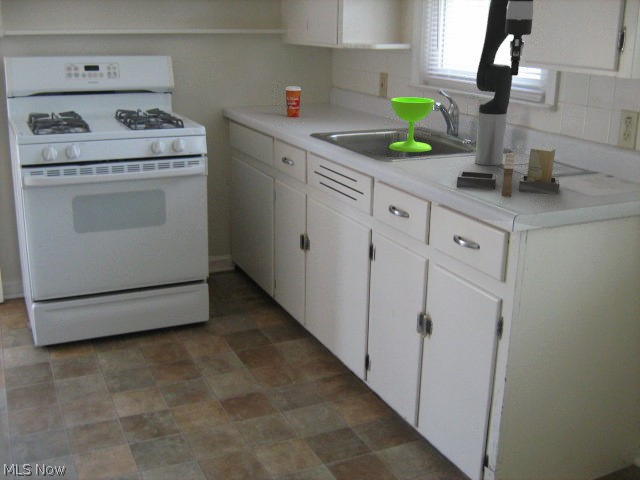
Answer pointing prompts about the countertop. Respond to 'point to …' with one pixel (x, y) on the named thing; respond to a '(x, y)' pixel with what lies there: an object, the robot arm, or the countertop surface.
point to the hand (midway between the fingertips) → (514, 74)
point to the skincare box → (540, 164)
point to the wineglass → (411, 120)
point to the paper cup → (293, 100)
